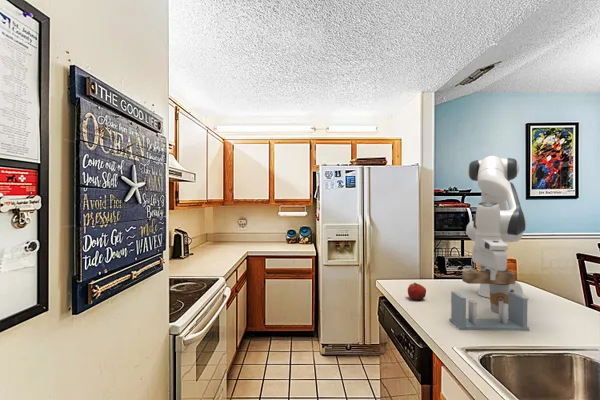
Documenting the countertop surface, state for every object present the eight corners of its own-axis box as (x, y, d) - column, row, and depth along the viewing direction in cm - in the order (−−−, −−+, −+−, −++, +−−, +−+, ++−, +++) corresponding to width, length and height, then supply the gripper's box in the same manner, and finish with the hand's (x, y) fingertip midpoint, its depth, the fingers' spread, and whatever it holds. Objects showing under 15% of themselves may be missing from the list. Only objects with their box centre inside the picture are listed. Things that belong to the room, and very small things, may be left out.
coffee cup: (490, 313, 153) (490, 278, 153) (487, 307, 161) (487, 275, 161) (511, 315, 150) (512, 280, 150) (507, 309, 158) (507, 276, 158)
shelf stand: (513, 321, 143) (513, 292, 143) (529, 330, 133) (529, 298, 133) (449, 320, 144) (449, 291, 144) (459, 329, 134) (459, 298, 134)
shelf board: (467, 283, 136) (467, 273, 136) (462, 280, 141) (462, 270, 141) (515, 284, 135) (515, 273, 135) (507, 281, 140) (507, 271, 140)
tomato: (418, 296, 180) (418, 280, 180) (430, 301, 172) (430, 284, 172) (403, 297, 178) (403, 281, 178) (414, 302, 169) (414, 286, 169)
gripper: (467, 240, 149) (467, 272, 149) (493, 246, 128) (493, 283, 128) (483, 240, 148) (482, 272, 148) (510, 246, 128) (510, 284, 128)
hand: (487, 278), depth 138 cm, fingers closed on shelf board, 5 cm apart
